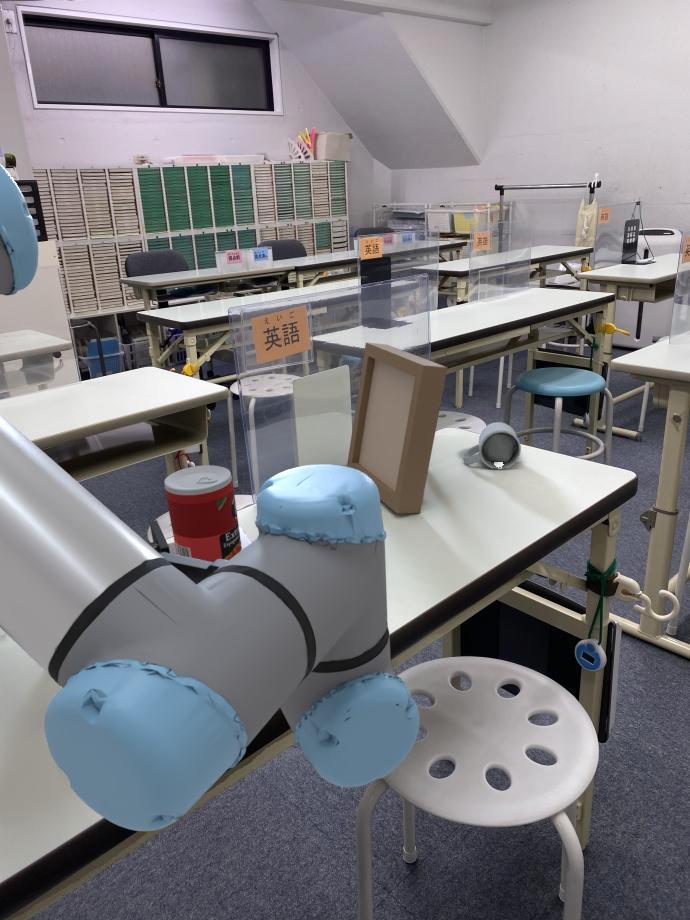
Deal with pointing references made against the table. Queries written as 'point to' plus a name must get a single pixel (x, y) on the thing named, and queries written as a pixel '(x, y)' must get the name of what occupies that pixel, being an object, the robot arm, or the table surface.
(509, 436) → the ceramic mug
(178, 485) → the canned food
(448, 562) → the table surface
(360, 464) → the photo frame
